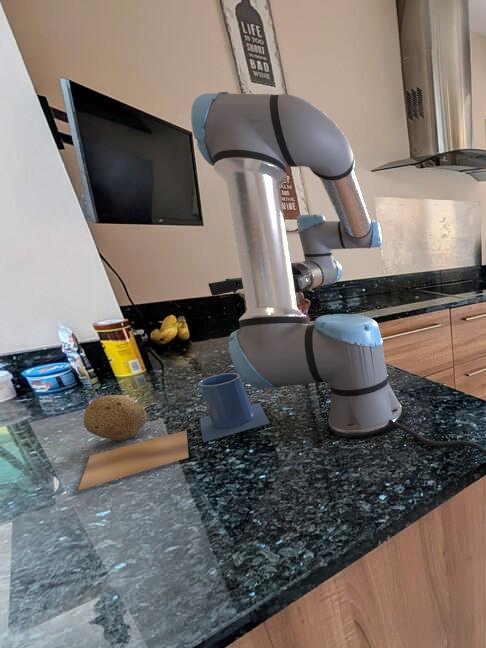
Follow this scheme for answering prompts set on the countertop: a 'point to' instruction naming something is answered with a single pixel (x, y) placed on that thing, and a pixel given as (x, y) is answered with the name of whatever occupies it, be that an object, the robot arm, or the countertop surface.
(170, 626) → the countertop surface
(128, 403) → the brown potato
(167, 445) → the cork mat
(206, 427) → the blue mat
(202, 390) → the blue cup
